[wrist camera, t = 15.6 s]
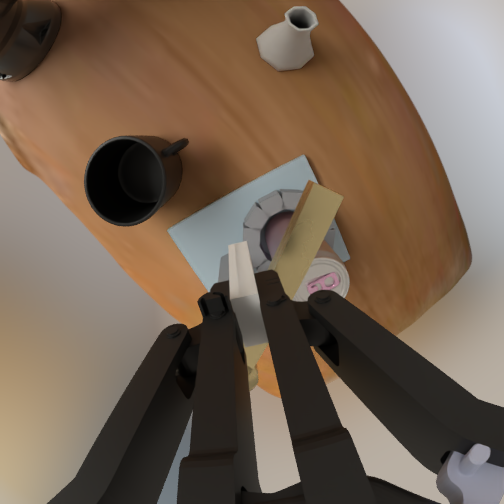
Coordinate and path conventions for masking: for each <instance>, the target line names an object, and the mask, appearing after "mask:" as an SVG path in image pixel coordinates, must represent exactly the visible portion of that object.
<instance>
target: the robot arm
mask: <svg viewBox="0 0 504 504" xmlns="http://www.w3.org/2000/svg"><path fill="white" fill-rule="evenodd" d="M60 22H61V11H60V8H59V6H58V5H57V4H56V3H54V2H52V1H51V0H0V80H3V81H16V80H19V79H21V78H23V77H25V76H26V75H28V74H29V73H30V72H31V71H32V70H34V69H35V68H36V67H37V65H38V64H39V63H40V62H41V61H42V60H43V58H44V57H45V55H46V54H47V53H48V51H49V49H50V48H51V46H52V44H53V42H54V40H55V38H56V36H57V33H58V30H59V27H60ZM228 249H229V280H227V281H223V282H218V283H214V285H213V286H212V287H211V289H210V292H208V293H206V294H204V295H202V296H201V297H200V298H199V300H198V305H199V308H200V310H201V313H202V316H203V322H202V323H201V324H199V325H198V326H195V327H193V328H191V329H188V328H187V326H186V325H184V324H173V325H170V326H168V327H167V328H165V329H164V330H163V331H162V332H161V333H160V335H159V336H158V338H157V339H156V341H155V343H154V344H153V346H152V347H151V349H150V351H149V352H148V354H147V355H146V357H145V359H144V360H143V362H142V364H141V365H140V367H139V368H138V370H137V371H136V373H135V375H134V376H133V378H132V380H131V382H130V383H129V385H128V386H127V388H126V390H125V391H124V393H123V395H122V396H121V398H120V400H119V401H118V403H117V405H116V406H115V408H114V410H113V411H112V413H111V415H110V416H109V418H108V420H107V422H106V423H105V425H104V427H103V429H102V430H101V432H100V434H99V436H98V437H97V439H96V441H95V442H94V444H93V446H92V448H91V450H90V451H89V453H88V455H87V457H86V458H85V460H84V462H83V464H82V466H81V468H80V469H79V471H78V473H77V475H76V477H75V478H74V479H73V480H72V481H71V482H70V483H69V484H68V485H67V486H66V487H65V488H63V489H62V490H61V491H60V492H59V493H58V494H57V495H56V496H55V497H54V498H53V499H52V500H50V501H49V502H48V503H47V504H157V501H158V499H159V496H160V494H161V491H162V489H163V486H164V483H165V481H166V478H167V476H168V473H169V470H170V468H171V465H172V463H173V460H174V457H175V455H176V452H177V450H178V447H179V444H180V442H181V439H182V436H183V434H184V431H185V429H186V426H187V423H188V421H189V418H190V416H191V413H192V411H193V416H192V428H191V442H190V452H189V455H188V457H184V458H183V459H182V460H181V463H180V467H179V479H178V493H177V504H441V503H437V502H435V501H432V500H430V499H427V498H424V497H422V496H419V495H417V494H414V493H412V492H409V491H407V490H405V489H402V488H400V487H398V486H395V485H393V484H391V483H389V482H387V481H385V480H382V479H379V478H376V477H371V476H367V475H366V473H365V470H364V468H363V465H362V463H361V460H360V458H359V455H358V453H357V450H356V448H355V445H354V443H353V440H352V438H351V435H350V433H349V431H348V430H347V429H346V428H343V426H342V424H341V422H340V419H339V417H338V415H337V412H336V409H335V407H334V404H333V402H332V399H331V397H330V394H329V392H328V389H327V387H326V384H325V382H324V379H323V377H322V374H321V372H320V369H319V367H318V365H317V362H316V360H315V357H314V355H313V352H312V350H311V347H310V346H313V347H314V349H315V351H316V352H317V353H318V354H319V355H320V356H321V357H322V358H323V360H324V361H325V362H326V363H327V364H328V365H329V366H330V367H331V368H332V369H333V371H334V372H335V373H336V374H337V375H338V376H339V377H340V378H341V379H342V380H343V382H344V383H345V384H346V385H347V386H348V387H349V388H350V389H351V390H352V391H353V393H354V394H355V395H356V396H357V397H358V398H359V399H360V400H361V401H362V402H363V403H364V404H365V406H366V407H367V408H368V409H369V410H370V411H371V412H372V413H373V414H374V415H375V416H376V417H377V418H378V419H379V420H380V422H381V423H382V424H383V425H384V426H385V427H386V428H387V429H388V430H389V431H390V432H391V433H392V434H393V436H394V437H395V438H396V439H397V440H398V441H399V442H400V443H401V444H402V445H403V446H404V447H405V448H406V449H407V450H408V451H409V452H410V453H411V455H412V456H413V457H414V458H415V459H417V460H418V461H419V462H420V463H421V464H422V465H423V466H425V467H426V468H427V469H429V470H430V471H432V472H433V473H435V474H437V480H436V484H437V488H438V490H439V492H440V493H442V494H443V495H444V496H445V497H447V499H448V500H449V502H450V504H499V503H500V501H501V499H502V496H503V494H504V407H500V406H497V405H494V404H491V403H488V402H484V401H482V400H479V399H477V398H476V397H475V396H473V395H472V394H471V393H469V392H468V391H467V390H466V389H464V388H463V387H462V386H460V385H459V384H458V383H457V382H455V381H454V380H453V379H451V378H450V377H449V376H447V375H446V374H445V373H444V372H442V371H441V370H440V369H438V368H437V367H436V366H434V365H433V364H432V363H430V362H429V361H428V360H427V359H425V358H424V357H422V356H421V355H420V354H419V353H417V352H416V351H414V350H413V349H412V348H411V347H409V346H408V345H407V344H405V343H404V342H403V341H401V340H400V339H398V338H397V337H396V336H395V335H393V334H392V333H391V332H389V331H388V330H387V329H385V328H384V327H383V326H381V325H380V324H379V323H377V322H376V321H375V320H373V319H372V318H370V317H369V316H368V315H366V314H365V313H364V312H362V311H361V310H360V309H358V308H357V307H356V306H354V305H353V304H351V303H350V302H349V301H347V300H346V299H345V298H343V297H342V296H341V295H339V294H338V293H336V292H334V291H332V290H319V291H316V292H314V293H312V294H310V296H309V297H308V301H303V302H301V301H293V300H291V299H290V297H289V296H288V295H286V293H285V291H284V288H283V286H282V283H281V281H280V278H279V276H278V273H277V272H276V271H274V270H272V269H271V270H267V271H262V272H258V273H254V270H253V266H252V261H251V257H250V253H249V249H248V245H247V241H244V242H239V243H235V244H231V245H228ZM243 343H244V345H243ZM264 343H269V347H270V351H271V355H272V360H273V364H274V368H275V373H276V377H277V381H278V385H279V390H280V394H281V398H282V403H283V407H284V411H285V415H286V419H287V424H288V428H289V432H290V436H291V440H292V446H293V451H294V455H295V459H296V463H297V467H298V472H299V476H300V480H301V482H299V483H297V484H295V485H293V486H290V487H288V488H285V489H283V490H281V491H278V492H275V493H262V491H261V488H260V485H259V480H258V471H257V461H256V451H255V442H254V432H253V422H252V412H251V401H250V391H249V380H248V369H247V358H246V353H245V349H244V346H245V347H250V346H255V345H259V344H264Z"/></svg>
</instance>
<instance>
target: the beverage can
mask: <svg viewBox="0 0 504 504" xmlns="http://www.w3.org/2000/svg"><path fill="white" fill-rule="evenodd" d="M293 213H294V212H291V211H287V212H282V213H279V214H277V215H276V216H274V217H273V218H272V219H271V220H270V221H269V223H268V224H267V227H266V230H265V240H266V243H267V246H268V249H269V252H270V255H271V258H272V259H273V257H274V255H275V253H276V250H277V248H278V246H279V244H280V242H281V240H282V237H283V235H284V233H285V231H286V229H287V226H288V224H289V222H290V220H291V218H292V215H293ZM349 282H350V281H349V275H348V272H347V270H346V267H345V264H344V263H343V261H342V260H341V259H340V258H339V256H338V255H337V254H336V253H335V252H334V251H333V249H332V248H331V247H330V246H329V245H328V244H327V242H326V241H325V240H324V239H323V241H322V243H321V245H320V248H319V250H318V251H317V253H316V255H315V257H314V259H313V261H312V263H311V265H310V267H309V269H308V271H307V273H306V275H305V277H304V279H303V281H302V283H301V285H300V286H299V288H298V290H297V292H296V294H295V296H294V298H293V301H301V302H303V301H308V297H309V296H310V294H312V293H314V292H316V291H319V290H332V291H334V292H336V293H338V294H339V295H341V296H342V297H343V298H345V297H346V295H347V292H348V289H349Z"/></svg>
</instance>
